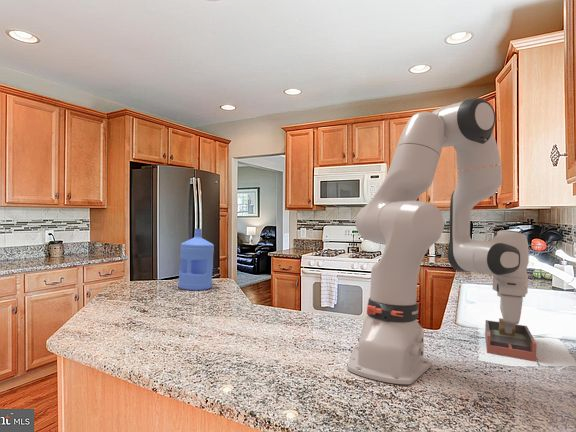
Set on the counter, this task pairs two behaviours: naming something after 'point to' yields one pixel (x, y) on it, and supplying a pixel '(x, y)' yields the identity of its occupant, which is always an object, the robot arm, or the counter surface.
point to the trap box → (510, 342)
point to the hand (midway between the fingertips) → (508, 332)
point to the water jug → (196, 263)
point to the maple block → (502, 328)
